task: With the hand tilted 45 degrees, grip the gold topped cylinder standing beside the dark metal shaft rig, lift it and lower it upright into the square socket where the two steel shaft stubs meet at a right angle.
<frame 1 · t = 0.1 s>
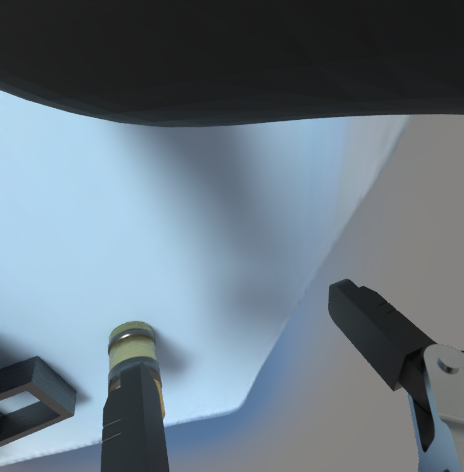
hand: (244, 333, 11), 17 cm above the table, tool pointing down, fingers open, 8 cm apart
shaft rig: (17, 391, 32), on the table
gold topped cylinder: (131, 335, 34), on the table
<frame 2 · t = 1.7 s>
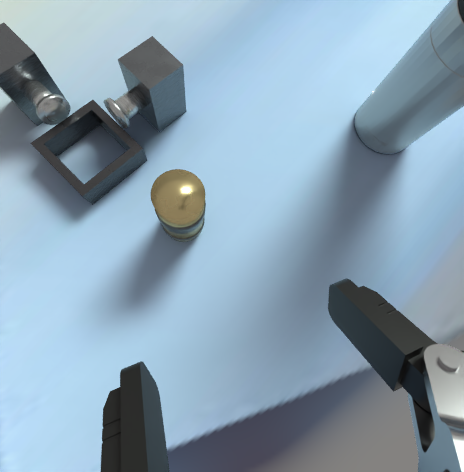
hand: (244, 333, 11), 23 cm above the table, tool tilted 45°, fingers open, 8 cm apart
shaft rig: (96, 158, 36), on the table
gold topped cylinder: (183, 222, 35), on the table
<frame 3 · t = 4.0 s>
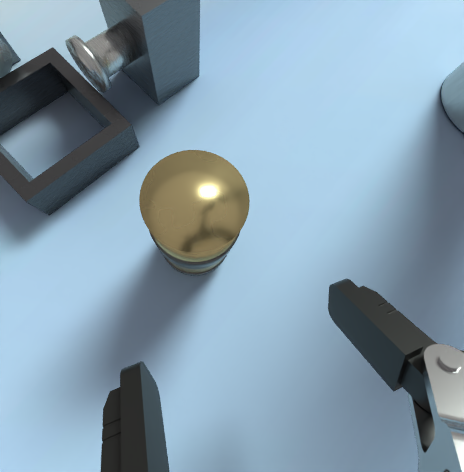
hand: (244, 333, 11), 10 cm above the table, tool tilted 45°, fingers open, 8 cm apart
shaft rig: (60, 142, 23), on the table
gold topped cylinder: (195, 244, 22), on the table
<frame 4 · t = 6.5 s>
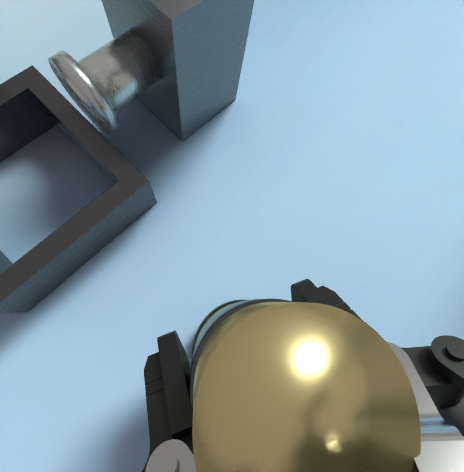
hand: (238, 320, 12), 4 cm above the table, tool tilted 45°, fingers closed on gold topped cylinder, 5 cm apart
shaft rig: (45, 198, 16), on the table
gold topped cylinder: (239, 347, 15), on the table, touching gripper
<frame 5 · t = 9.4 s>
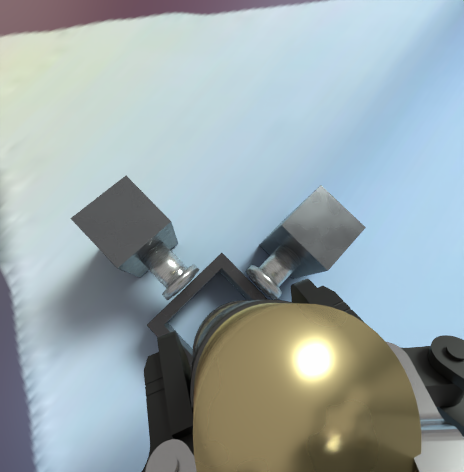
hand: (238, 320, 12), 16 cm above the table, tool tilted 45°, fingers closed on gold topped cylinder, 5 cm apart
shaft rig: (218, 321, 27), on the table
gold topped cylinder: (239, 348, 15), point 12 cm above the table, touching gripper
when the fingers open (7 cm above the table, at t = 12.6 s): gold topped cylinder drops 2 cm, resting in shaft rig.
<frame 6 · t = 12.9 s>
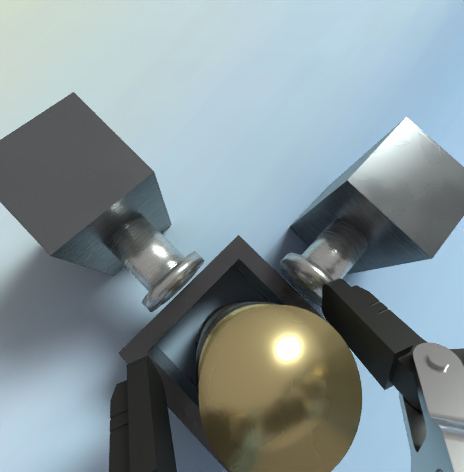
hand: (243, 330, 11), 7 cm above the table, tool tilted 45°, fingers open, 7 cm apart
shaft rig: (233, 341, 18), on the table
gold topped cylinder: (236, 342, 18), resting in shaft rig
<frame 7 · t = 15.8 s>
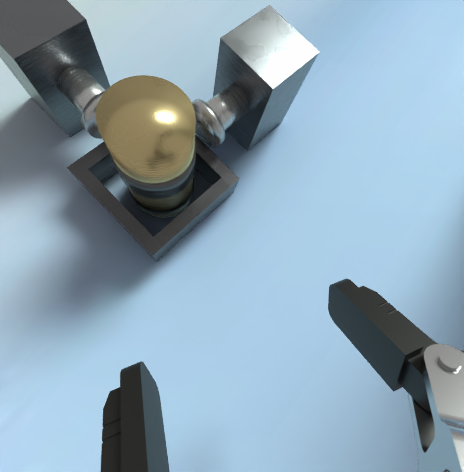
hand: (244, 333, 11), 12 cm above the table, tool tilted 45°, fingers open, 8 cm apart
shaft rig: (160, 188, 24), on the table
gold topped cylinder: (163, 189, 24), resting in shaft rig
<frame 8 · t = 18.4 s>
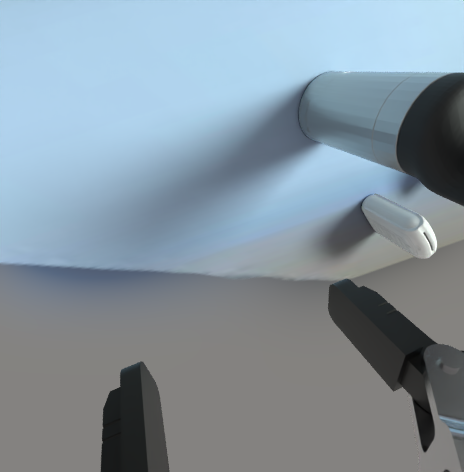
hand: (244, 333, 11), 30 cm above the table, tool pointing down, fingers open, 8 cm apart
white rounded box: (373, 212, 55), on the table
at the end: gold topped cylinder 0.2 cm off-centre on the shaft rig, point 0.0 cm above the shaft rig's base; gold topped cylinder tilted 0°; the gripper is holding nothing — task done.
